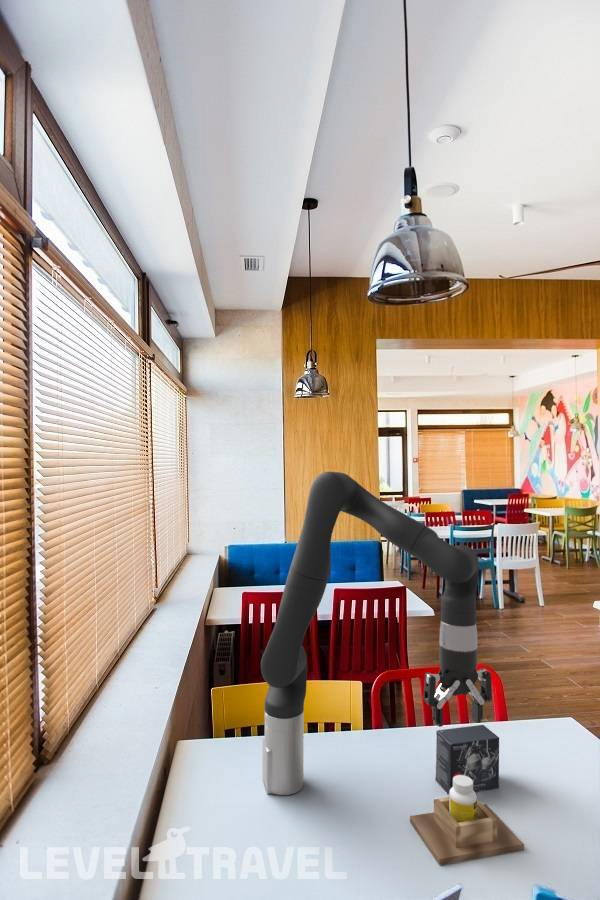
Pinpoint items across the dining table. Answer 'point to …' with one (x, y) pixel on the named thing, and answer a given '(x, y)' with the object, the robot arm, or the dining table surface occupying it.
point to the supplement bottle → (462, 799)
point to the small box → (468, 757)
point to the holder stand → (464, 834)
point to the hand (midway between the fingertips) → (457, 723)
